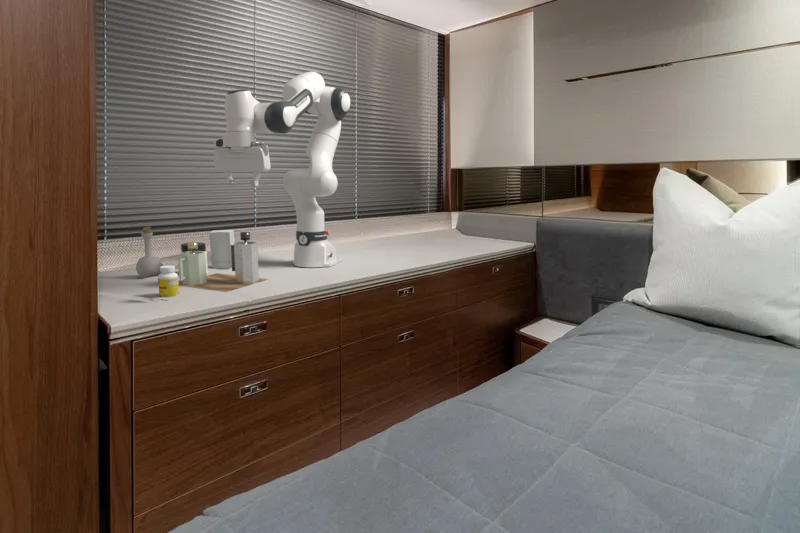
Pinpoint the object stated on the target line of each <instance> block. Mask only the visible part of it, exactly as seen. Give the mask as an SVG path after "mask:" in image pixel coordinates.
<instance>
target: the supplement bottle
mask: <svg viewBox="0 0 800 533" xmlns="http://www.w3.org/2000/svg"><path fill="white" fill-rule="evenodd" d="M175 268H176V267H175V265H163V266H161V267H160V272H161V274H159V275H158V276H157V282H158V284H157V285H158V294H159V295H158V296H159V297H160V298H161V297H162V298H172V297H176V296H177V297H178V296H179V295H180V286H179V274H178V273H176V272H175V271H176V269H175ZM164 300H165V299H164ZM160 301H163V299H160ZM166 301H167V302H168V300H167V299H166V300H165V301H164V302H166Z"/></svg>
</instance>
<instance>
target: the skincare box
mask: <svg viewBox="0 0 800 533" xmlns="http://www.w3.org/2000/svg"><path fill="white" fill-rule="evenodd" d="M234 232H235V230H234V229H226V230H225V229H224V230H223V229H222V230H221V229H219V230H215V229H214V230H211V231H209V232H208V235H209V238H208V239H209V245H210V257H211V258H210V259H211V265H212V266H211V267H212V270H222V269H223V270H225V269H226V270H227V269H232V260H231V245H234V243H236V240H235V233H234Z"/></svg>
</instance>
